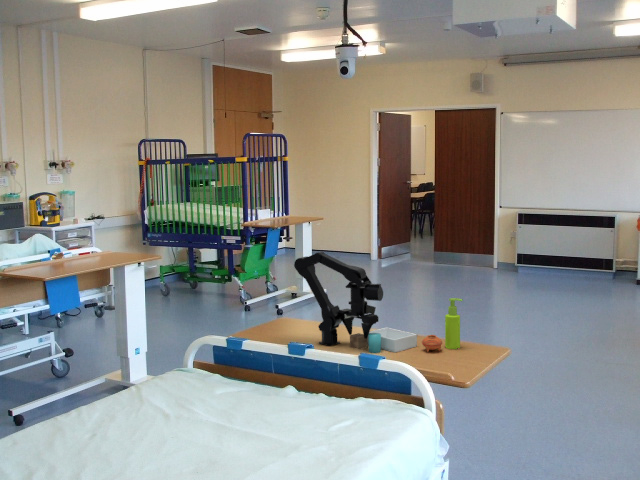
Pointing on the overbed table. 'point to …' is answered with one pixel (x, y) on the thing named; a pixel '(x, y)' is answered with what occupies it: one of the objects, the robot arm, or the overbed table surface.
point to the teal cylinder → (374, 342)
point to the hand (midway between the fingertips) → (358, 336)
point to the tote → (395, 339)
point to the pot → (432, 342)
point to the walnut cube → (358, 341)
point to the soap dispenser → (452, 326)
